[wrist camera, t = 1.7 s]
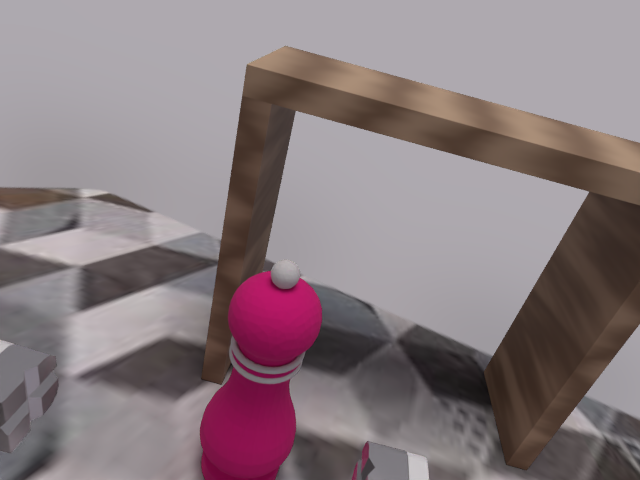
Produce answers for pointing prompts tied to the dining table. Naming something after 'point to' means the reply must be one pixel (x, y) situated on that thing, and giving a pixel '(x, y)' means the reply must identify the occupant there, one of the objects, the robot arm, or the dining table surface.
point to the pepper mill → (260, 376)
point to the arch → (478, 144)
